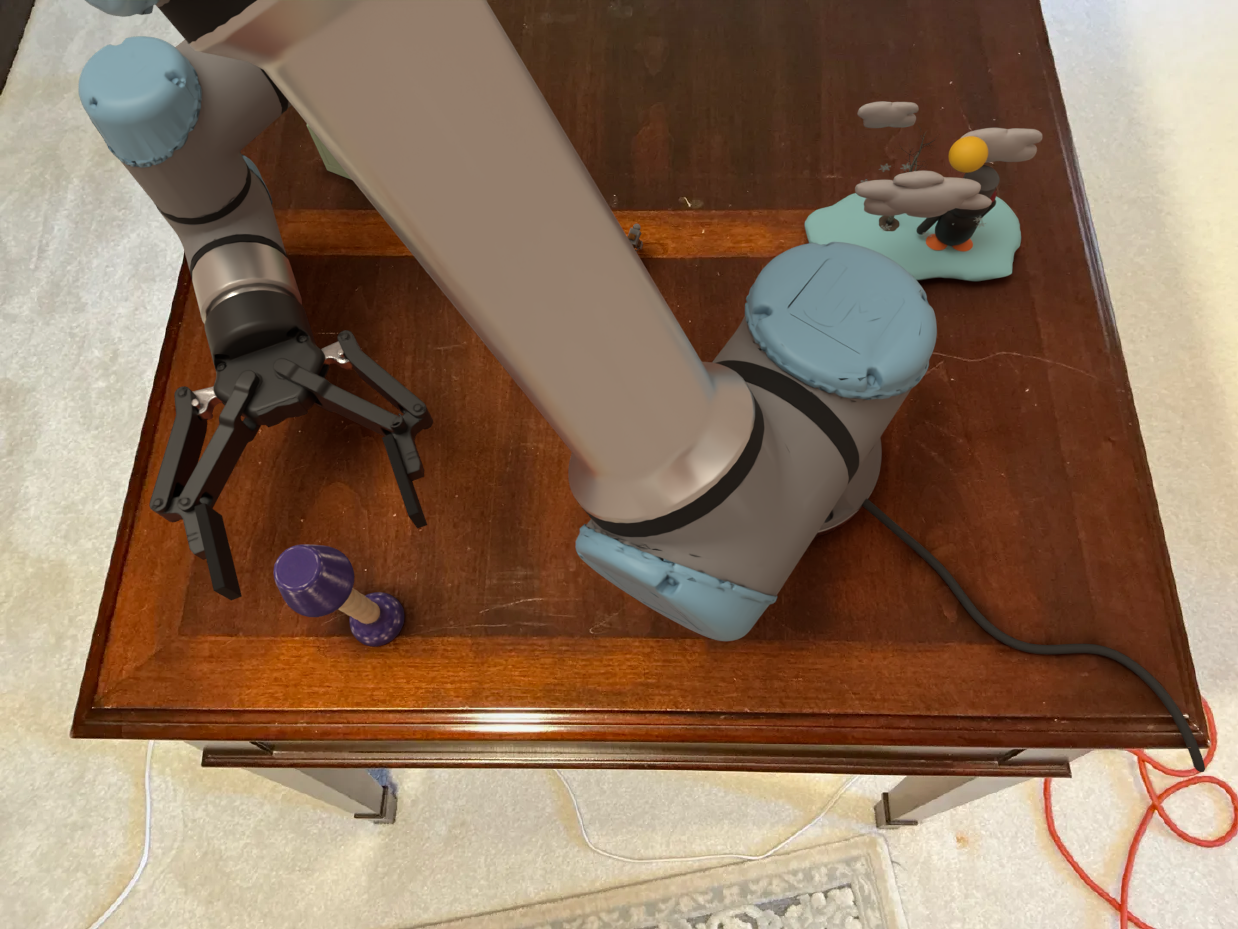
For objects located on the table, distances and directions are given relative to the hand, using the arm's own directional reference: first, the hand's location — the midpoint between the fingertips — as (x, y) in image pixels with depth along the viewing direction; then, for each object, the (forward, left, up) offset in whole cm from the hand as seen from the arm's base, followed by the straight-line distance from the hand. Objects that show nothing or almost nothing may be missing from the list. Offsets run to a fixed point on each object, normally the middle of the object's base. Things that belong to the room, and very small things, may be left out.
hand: (324, 557), depth 59 cm
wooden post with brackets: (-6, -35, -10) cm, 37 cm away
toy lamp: (-2, +2, -10) cm, 10 cm away
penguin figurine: (-29, -50, -10) cm, 59 cm away
